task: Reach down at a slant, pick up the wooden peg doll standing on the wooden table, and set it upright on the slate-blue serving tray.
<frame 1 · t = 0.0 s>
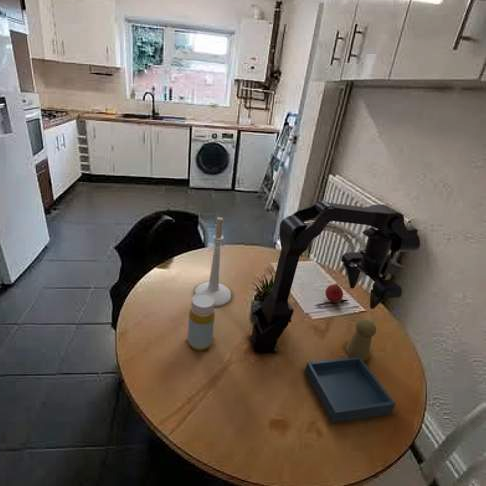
hand: (361, 297, 90), 15 cm above the table, tool pointing down, fingers open, 9 cm apart
tray: (345, 391, 78), on the table
wooden peg doll: (357, 352, 90), on the table
onion: (331, 302, 111), on the table
candlestick: (212, 294, 109), on the table
bottle: (199, 342, 89), on the table
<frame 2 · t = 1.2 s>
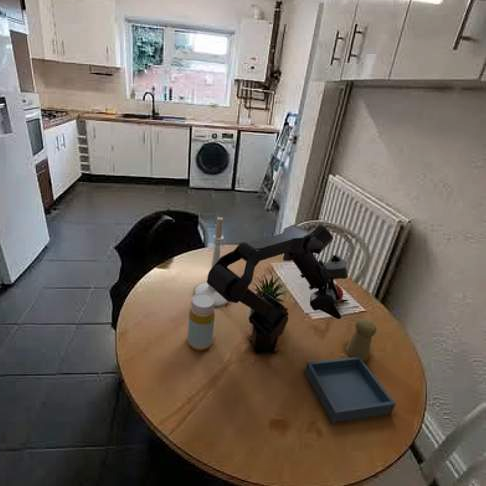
hand: (339, 308, 87), 13 cm above the table, tool tilted 45°, fingers open, 9 cm apart
nothing on the table moved.
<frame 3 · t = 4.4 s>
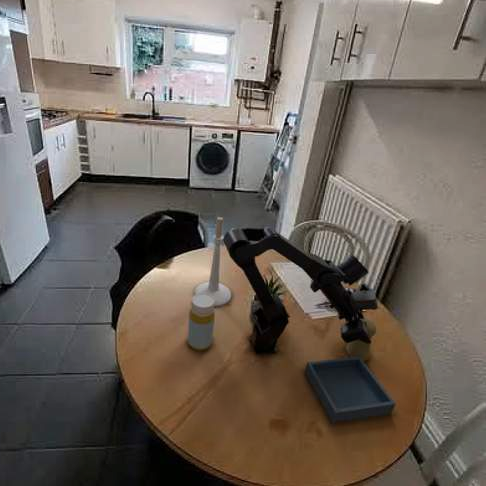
hand: (368, 336, 87), 7 cm above the table, tool tilted 45°, fingers closed on wooden peg doll, 5 cm apart
wooden peg doll: (357, 352, 90), on the table, touching gripper
everything else where it was.
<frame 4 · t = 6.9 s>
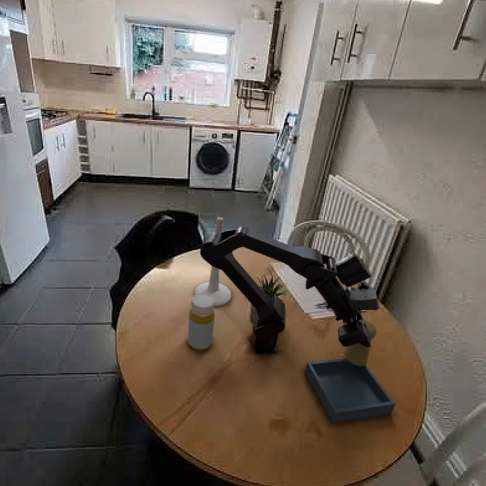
hand: (367, 339, 80), 11 cm above the table, tool tilted 45°, fingers closed on wooden peg doll, 5 cm apart
wooden peg doll: (354, 356, 83), point 4 cm above the table, touching gripper
everything else where it was.
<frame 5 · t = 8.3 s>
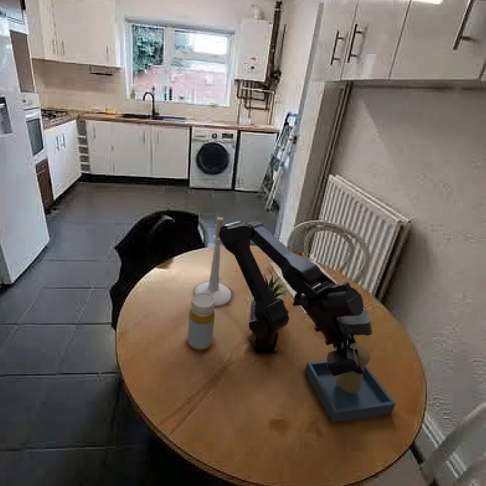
hand: (360, 364, 74), 10 cm above the table, tool tilted 45°, fingers closed on wooden peg doll, 5 cm apart
wooden peg doll: (347, 382, 77), point 3 cm above the table, touching gripper
everything else where it was.
when the fingers open (8 cm above the table, at t = 9.4 s): wooden peg doll stays where it is, resting on tray.
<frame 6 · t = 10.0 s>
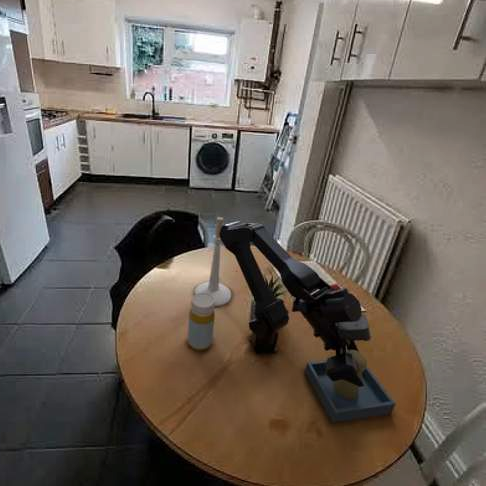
hand: (360, 369, 74), 8 cm above the table, tool tilted 45°, fingers open, 9 cm apart
wooden peg doll: (345, 388, 78), point 1 cm above the table, touching tray
everything else where it was.
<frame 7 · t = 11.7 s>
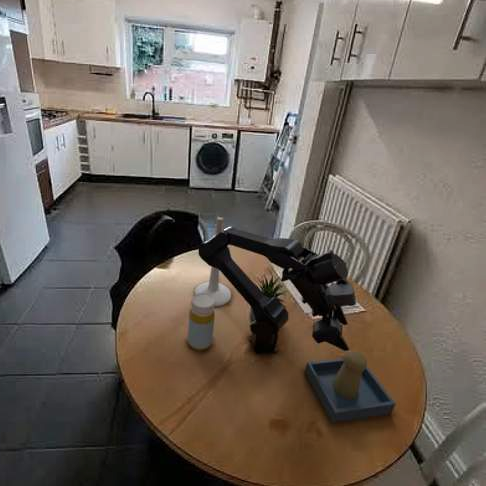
hand: (346, 336, 77), 13 cm above the table, tool tilted 45°, fingers open, 9 cm apart
nothing on the table moved.
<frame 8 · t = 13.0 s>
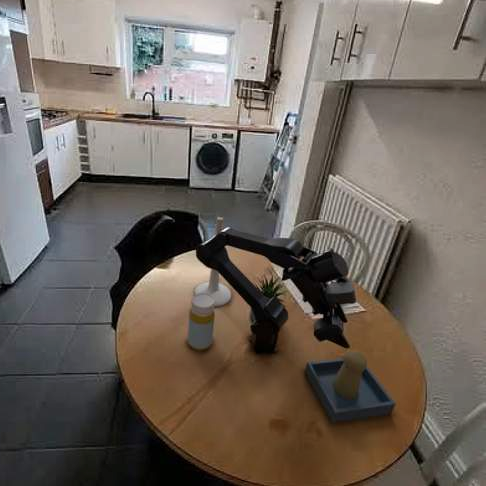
hand: (347, 334, 77), 14 cm above the table, tool tilted 45°, fingers open, 9 cm apart
nothing on the table moved.
at the end: wooden peg doll inside the target area in the tray (0.2 cm from its centre), point 0.8 cm above the tray's base; wooden peg doll tilted 0°; the gripper is holding nothing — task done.
